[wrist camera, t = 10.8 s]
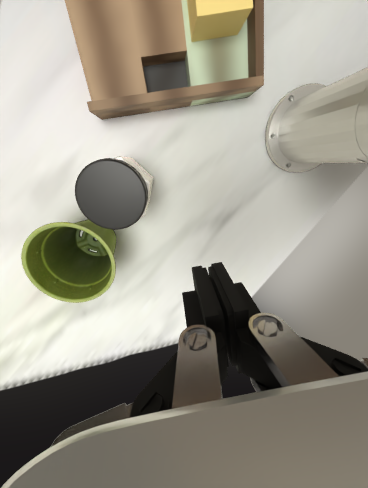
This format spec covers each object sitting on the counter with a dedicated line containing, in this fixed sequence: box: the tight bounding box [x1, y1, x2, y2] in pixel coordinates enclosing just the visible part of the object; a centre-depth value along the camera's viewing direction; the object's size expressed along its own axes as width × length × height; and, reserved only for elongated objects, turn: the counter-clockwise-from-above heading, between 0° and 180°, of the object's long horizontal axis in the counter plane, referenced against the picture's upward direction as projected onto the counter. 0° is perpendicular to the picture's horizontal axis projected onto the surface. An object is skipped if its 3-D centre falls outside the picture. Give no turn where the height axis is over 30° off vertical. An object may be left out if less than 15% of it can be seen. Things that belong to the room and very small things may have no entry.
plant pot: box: [21, 220, 116, 303], centre depth 32 cm, size 12×12×11 cm
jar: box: [75, 156, 153, 230], centre depth 29 cm, size 9×8×12 cm
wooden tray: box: [65, 0, 264, 120], centre depth 26 cm, size 22×17×6 cm
